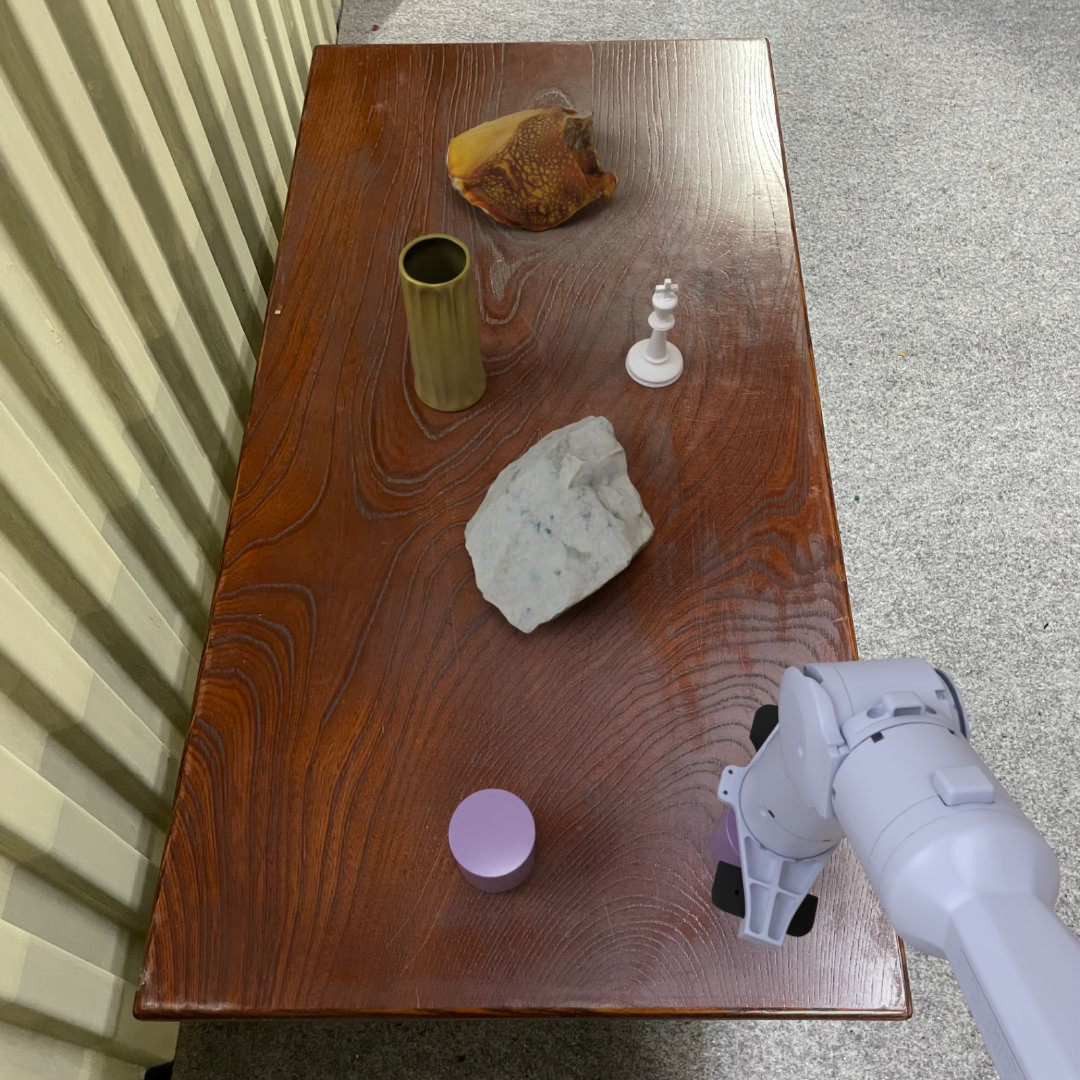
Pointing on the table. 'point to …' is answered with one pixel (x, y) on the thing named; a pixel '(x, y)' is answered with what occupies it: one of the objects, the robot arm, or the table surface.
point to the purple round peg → (726, 839)
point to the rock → (557, 524)
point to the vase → (442, 322)
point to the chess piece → (657, 344)
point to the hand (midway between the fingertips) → (758, 837)
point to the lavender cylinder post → (493, 840)
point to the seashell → (530, 166)
